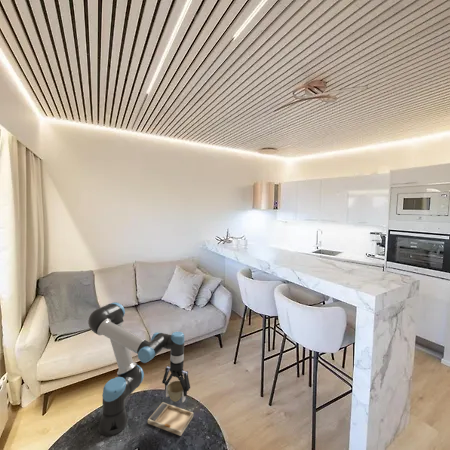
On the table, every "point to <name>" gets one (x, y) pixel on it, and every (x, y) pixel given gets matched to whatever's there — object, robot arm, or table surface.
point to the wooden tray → (171, 418)
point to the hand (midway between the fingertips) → (175, 398)
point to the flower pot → (175, 390)
